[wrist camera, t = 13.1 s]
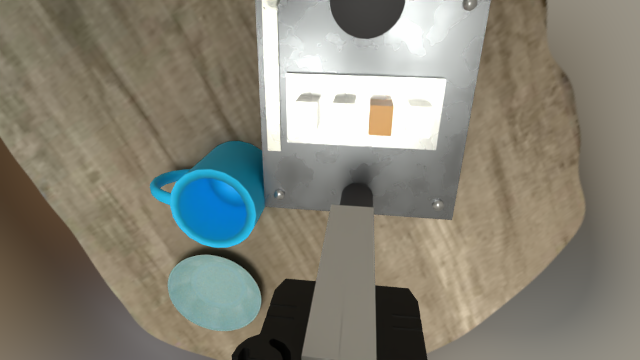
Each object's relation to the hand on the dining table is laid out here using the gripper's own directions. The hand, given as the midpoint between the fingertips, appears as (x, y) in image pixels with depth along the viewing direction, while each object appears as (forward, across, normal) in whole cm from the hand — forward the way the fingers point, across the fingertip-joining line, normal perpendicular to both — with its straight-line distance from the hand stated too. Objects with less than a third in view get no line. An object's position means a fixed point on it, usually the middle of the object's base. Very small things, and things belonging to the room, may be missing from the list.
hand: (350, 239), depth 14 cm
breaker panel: (+26, 0, 0) cm, 26 cm away
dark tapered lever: (+21, 0, +8) cm, 22 cm away
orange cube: (+20, +2, 0) cm, 20 cm away
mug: (+26, -15, -9) cm, 32 cm away
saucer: (+26, -17, -25) cm, 40 cm away
